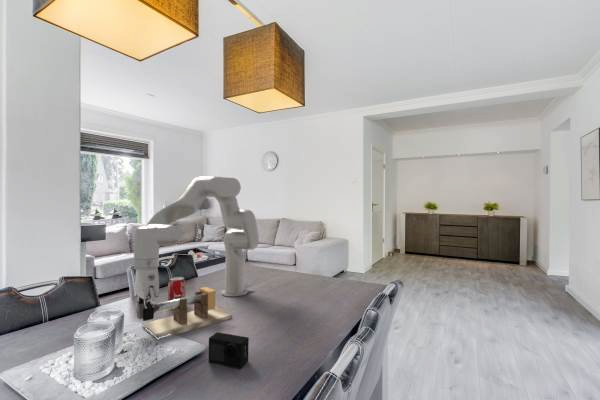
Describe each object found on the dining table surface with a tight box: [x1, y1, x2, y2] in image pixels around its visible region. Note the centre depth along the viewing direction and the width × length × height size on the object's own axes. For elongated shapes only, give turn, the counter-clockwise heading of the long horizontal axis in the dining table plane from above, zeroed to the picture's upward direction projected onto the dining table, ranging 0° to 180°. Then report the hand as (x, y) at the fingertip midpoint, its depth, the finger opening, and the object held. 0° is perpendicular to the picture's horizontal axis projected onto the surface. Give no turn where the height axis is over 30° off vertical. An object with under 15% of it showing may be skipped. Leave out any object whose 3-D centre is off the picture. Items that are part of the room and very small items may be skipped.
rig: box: [142, 290, 233, 338], centre depth 112 cm, size 28×14×10 cm, turn 135°
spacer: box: [199, 286, 217, 310], centre depth 117 cm, size 3×7×7 cm, turn 45°
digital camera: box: [208, 331, 250, 370], centre depth 84 cm, size 10×5×7 cm, turn 72°
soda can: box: [167, 276, 186, 301], centre depth 128 cm, size 7×7×12 cm
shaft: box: [136, 294, 201, 320], centre depth 108 cm, size 24×5×5 cm, turn 135°
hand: (145, 316), depth 101 cm, fingers closed on shaft, 4 cm apart
